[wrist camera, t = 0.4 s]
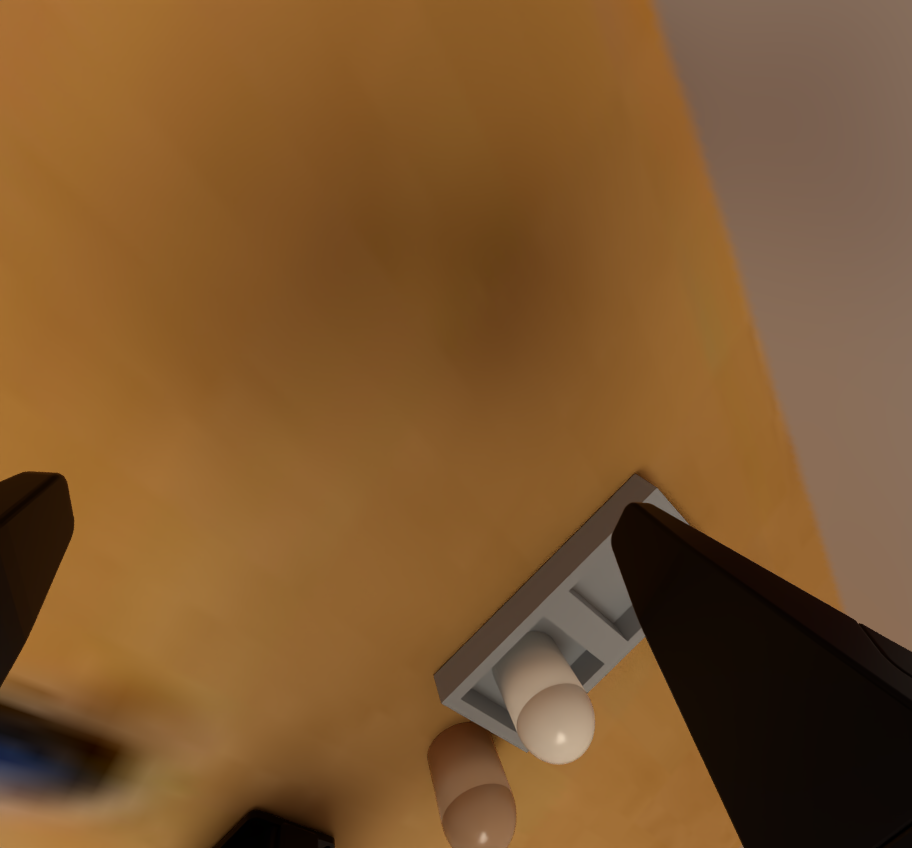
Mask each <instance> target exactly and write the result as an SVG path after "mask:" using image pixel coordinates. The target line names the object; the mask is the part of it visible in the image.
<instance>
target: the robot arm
mask: <svg viewBox="0 0 912 848" xmlns="http://www.w3.org/2000/svg"><path fill="white" fill-rule="evenodd" d="M73 530H74V516H73V511H72V506H71V500H70V495H69V489H68V484H67V481H66V479H65V477H64V476H63V475H61V474H59V473H51V472H30V471H28V472H22V473H20V474H17V475H15V476H12V477H10V478H8V479H5V480H3V481H1V482H0V687H1V685H2V684H3V682H4V680H5V678H6V677H7V675H8V673H9V671H10V670H11V668H12V666H13V664H14V663H15V661H16V659H17V657H18V655H19V654H20V652H21V650H22V648H23V646H24V644H25V643H26V641H27V638H28V636H29V634H30V632H31V630H32V628H33V626H34V623H35V621H36V619H37V616H38V614H39V612H40V609H41V607H42V605H43V603H44V600H45V598H46V596H47V593H48V591H49V589H50V586H51V584H52V582H53V579H54V577H55V575H56V572H57V570H58V568H59V565H60V563H61V561H62V559H63V556H64V554H65V552H66V549H67V547H68V545H69V542H70V540H71V537H72V534H73ZM611 547H612V550H613V553H614V556H615V558H616V561H617V564H618V567H619V569H620V572H621V575H622V578H623V581H624V583H625V586H626V589H627V592H628V595H629V597H630V600H631V603H632V606H633V608H634V611H635V614H636V616H637V619H638V621H639V624H640V626H641V628H642V630H643V633H644V635H645V637H646V639H647V641H648V643H649V646H650V648H651V650H652V652H653V654H654V656H655V658H656V661H657V663H658V665H659V667H660V669H661V671H662V673H663V676H664V678H665V680H666V682H667V684H668V686H669V688H670V691H671V693H672V695H673V697H674V699H675V701H676V703H677V706H678V708H679V710H680V712H681V714H682V716H683V718H684V721H685V723H686V725H687V727H688V729H689V731H690V733H691V736H692V738H693V740H694V742H695V744H696V746H697V748H698V751H699V753H700V755H701V757H702V759H703V761H704V763H705V766H706V768H707V770H708V772H709V774H710V776H711V779H712V781H713V783H714V785H715V787H716V789H717V791H718V794H719V796H720V798H721V800H722V802H723V804H724V806H725V809H726V811H727V813H728V815H729V817H730V819H731V821H732V824H733V826H734V828H735V830H736V832H737V834H738V836H739V839H740V841H741V843H742V845H743V847H744V848H912V652H911V651H909V650H907V649H906V648H904V647H902V646H900V645H898V644H897V643H895V642H893V641H891V640H889V639H888V638H886V637H884V636H882V635H881V634H879V633H877V632H875V631H873V630H872V629H870V628H868V627H867V626H865V625H863V624H860V623H859V624H858V623H857V622H856V620H854V619H852V618H851V617H849V616H847V615H845V614H844V613H842V612H840V611H838V610H837V609H835V608H833V607H831V606H830V605H828V604H826V603H824V602H823V601H821V600H819V599H817V598H816V597H814V596H812V595H810V594H809V593H807V592H805V591H803V590H802V589H800V588H798V587H796V586H795V585H793V584H791V583H789V582H788V581H786V580H784V579H782V578H781V577H779V576H777V575H775V574H774V573H772V572H770V571H768V570H767V569H765V568H763V567H761V566H760V565H758V564H756V563H754V562H753V561H751V560H749V559H747V558H746V557H744V556H742V555H740V554H739V553H737V552H735V551H733V550H732V549H730V548H728V547H726V546H725V545H723V544H721V543H719V542H718V541H716V540H714V539H712V538H711V537H709V536H707V535H705V534H704V533H702V532H700V531H698V530H697V529H695V528H693V527H691V526H690V525H688V524H686V523H684V522H683V521H681V520H679V519H677V518H676V517H674V516H672V515H670V514H669V513H667V512H665V511H663V510H662V509H660V508H658V507H656V506H655V505H653V504H650V503H642V502H631V503H629V504H628V505H626V506H625V508H624V510H623V512H622V514H621V516H620V518H619V520H618V522H617V524H616V526H615V528H614V530H613V533H612V536H611ZM214 848H335V839H334V838H333V837H332V836H329V835H326V834H323V833H321V832H318V831H315V830H312V829H310V828H307V827H304V826H301V825H298V824H296V823H293V822H290V821H287V820H285V819H282V818H279V817H276V816H274V815H271V814H268V813H265V812H263V811H259V810H255V811H251V812H250V813H248V814H247V815H246V816H245V817H244V818H243V819H242V820H241V821H240V822H239V823H238V824H237V825H236V826H235V827H234V828H233V829H232V830H231V831H230V832H229V833H228V834H227V835H226V836H225V837H224V838H223V839H222V840H221V841H220V842H219V843H218V844H217V845H216V846H215V847H214Z"/></svg>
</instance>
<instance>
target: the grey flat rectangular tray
mask: <svg viewBox="0 0 912 848" xmlns="http://www.w3.org/2000/svg"><path fill="white" fill-rule="evenodd" d="M631 502H642V503H650V504H653V505H655V506H656V507H658V508H660V509H662V510H663V511H665V512H667V513H669V514H670V515H672V516H674V517H676V518H677V519H679V520H681V521H683V522H684V523H686V524H688V523H687V522H686V520H685V519H684V518H683V517H682V516H681V515H680V514H679V512H678V511H677V510H676V509H675V508H674V507H673V506H672V504H671V503H670V502H669V501H668V500H667V499H666V497H665V496H664V495H663V494H662V493H661V492H660V491H659V489H658V488H657V487H655V486H654V485H652V484H651V483H649V482H647V481H646V480H644V479H643V478H641V477H640V476H638V475H637V474H634V475H633V476H632V477H631V478H630V479H629V480H628V481H627V482H626V483H625V484H624V485H623V486H622V487H621V488H620V489H619V490H618V491H617V492H616V493H615V494H614V495H613V496H612V497H611V498H610V499H609V500H608V501H607V502H606V503H605V504H604V505H603V506H602V507H601V508H600V509H599V510H598V511H597V512H596V513H595V514H594V515H593V516H592V517H591V518H590V519H589V520H588V521H587V522H586V523H585V524H584V525H583V526H582V527H581V528H580V529H579V530H578V531H577V532H576V533H575V534H574V535H573V536H572V537H571V538H570V539H569V540H568V541H567V542H566V543H565V544H564V545H563V546H562V547H561V548H560V549H559V550H558V551H557V552H556V553H555V554H554V555H553V556H552V557H551V558H550V559H549V560H548V561H547V562H546V563H545V564H544V565H543V566H542V567H541V568H540V569H539V570H538V571H537V572H536V573H535V574H534V575H533V576H532V577H531V578H530V579H529V580H528V581H527V582H526V583H525V584H524V585H523V586H522V587H521V588H520V589H519V590H518V591H517V592H516V593H515V594H514V595H513V596H512V597H511V598H510V599H509V600H508V601H507V602H506V603H505V604H504V605H503V606H502V607H501V608H500V609H499V610H498V611H497V612H496V613H495V614H494V615H493V616H492V617H491V618H490V619H489V620H488V621H487V622H486V623H485V624H484V625H483V626H482V627H481V628H480V629H479V630H478V631H477V632H476V633H475V634H474V635H473V636H472V637H471V638H470V639H469V640H468V641H467V642H466V643H465V644H464V645H463V646H462V647H461V648H460V649H459V650H458V651H457V653H456V654H455V655H454V656H453V657H452V658H451V659H450V660H449V661H448V662H447V663H446V664H445V665H444V666H443V667H442V668H441V669H440V670H439V671H438V672H437V673H436V674H435V675H434V679H435V682H436V686H437V690H438V693H439V697H440V700H441V703H442V704H443V705H445V706H447V707H449V708H450V709H452V710H454V711H455V712H457V713H459V714H461V715H462V716H464V717H466V718H468V719H469V720H471V721H473V722H475V723H476V724H478V725H480V726H482V727H483V728H485V729H487V730H488V731H490V732H492V733H494V734H495V735H497V736H499V737H501V738H502V739H504V740H506V741H508V742H509V743H511V744H513V745H515V746H516V747H518V748H520V749H521V750H523V751H525V752H528V751H529V750H528V749H527V748H526V747H525V746H524V744H523V743H522V741H521V740H520V738H519V736H518V733H517V731H516V728H515V726H514V724H513V721H512V719H511V717H510V714H509V712H508V710H507V707H506V705H505V702H504V700H503V698H502V695H501V693H500V691H499V688H498V686H497V684H496V681H495V679H494V676H493V673H492V667H493V666H494V665H495V664H496V663H497V662H498V661H499V660H500V659H501V658H502V657H503V656H504V655H505V654H506V653H507V652H508V651H509V650H510V649H511V648H512V647H513V646H514V645H515V644H516V643H517V642H518V641H519V640H520V639H521V638H522V637H523V636H524V635H525V634H526V633H527V632H531V631H537V632H542V633H545V634H547V635H549V636H550V637H551V638H552V639H553V640H554V642H555V643H556V645H557V646H558V648H559V650H560V651H561V653H562V654H563V656H564V658H565V659H566V661H567V662H568V664H569V666H570V667H571V669H572V670H573V672H574V674H575V675H576V677H577V678H578V680H579V682H580V683H581V685H582V686H583V688H584V690H585V691H586V693H588V692H589V691H590V690H591V689H592V688H593V687H594V686H595V685H596V684H597V683H598V682H599V681H600V680H601V679H602V678H603V677H604V676H605V675H606V674H607V673H609V672H610V671H611V670H612V669H613V668H614V667H615V666H616V665H617V664H618V663H619V662H620V661H621V660H622V659H623V658H624V657H625V656H626V655H627V654H628V653H629V652H630V651H631V650H632V649H633V648H634V647H635V646H636V645H637V644H638V643H639V642H640V641H641V640H642V639H643V638H644V637H645V635H644V633H643V630H642V628H641V626H640V624H639V621H638V619H637V616H636V614H635V611H634V608H633V606H632V603H631V600H630V597H629V595H628V592H627V589H626V586H625V583H624V581H623V578H622V575H621V572H620V569H619V567H618V564H617V561H616V558H615V556H614V553H613V550H612V547H611V536H612V533H613V530H614V528H615V526H616V524H617V522H618V520H619V518H620V516H621V514H622V512H623V510H624V508H625V506H626V505H628V504H629V503H631ZM688 525H689V524H688Z"/></svg>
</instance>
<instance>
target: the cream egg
mask: <svg viewBox="0 0 912 848" xmlns="http://www.w3.org/2000/svg"><path fill="white" fill-rule="evenodd" d="M492 673H493V676H494V679H495V681H496V684H497V686H498V688H499V691H500V693H501V695H502V698H503V700H504V702H505V705H506V707H507V710H508V712H509V714H510V717H511V719H512V721H513V724H514V726H515V728H516V731H517V733H518V736H519V738H520V740H521V741H522V743H523V744H524V746H525V747H526V748H527V749H528V750H529V751H530V752H531V753H532V754H533V755H534V756H535V757H537V758H538V759H540V760H542V761H544V762H547V763H550V764H558V765H561V764H567V763H570V762H573V761H575V760H576V759H578V758H579V757H581V756H582V755H583V754H584V753H585V751H586V750H587V749H588V747H589V745H590V743H591V741H592V739H593V735H594V731H595V714H594V710H593V706H592V703H591V700H590V698H589V696H588V695H587V693H586V691H585V690H584V688H583V686H582V685H581V683H580V682H579V680H578V678H577V677H576V675H575V674H574V672H573V670H572V669H571V667H570V666H569V664H568V662H567V661H566V659H565V658H564V656H563V654H562V653H561V651H560V650H559V648H558V646H557V645H556V643H555V642H554V640H553V639H552V638H551V637H550V636H549V635H547V634H545V633H542V632H537V631H531V632H527V633H526V634H525V635H524V636H523V637H522V638H521V639H520V640H519V641H518V642H517V643H516V644H515V645H514V646H513V647H512V648H511V649H510V650H509V651H508V652H507V653H506V654H505V655H504V656H503V657H502V658H501V659H500V660H499V661H498V662H497V663H496V664H495V665H494V666H493V667H492Z"/></svg>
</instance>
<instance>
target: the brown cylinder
mask: <svg viewBox="0 0 912 848" xmlns="http://www.w3.org/2000/svg"><path fill="white" fill-rule="evenodd" d="M427 758H428V763H429V768H430V773H431V777H432V782H433V786H434V791H435V795H436V800H437V805H438V809H439V814H440V818H441V823H442V827H443V831H444V834H445V837H446V839H447V841H448V843H449V844H450V846H451V847H452V848H507V847H508V846H509V844H510V842H511V840H512V838H513V835H514V832H515V827H516V805H515V800H514V797H513V794H512V791H511V788H510V786H509V783H508V780H507V778H506V775H505V772H504V769H503V767H502V764H501V761H500V758H499V756H498V753H497V750H496V747H495V745H494V742H493V739H492V736H491V734H490V732H489V731H488V730H487V729H485V728H483V727H482V726H480V725H478V724H476V723H474V722H465V723H460V724H457V725H454V726H452V727H450V728H448V729H446V730H444V731H443V732H442V733H440V734H439V735H438V736H437V737H436V738H435V739H434V741H433V742H432V744H431V745H430V747H429V750H428V755H427Z"/></svg>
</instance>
